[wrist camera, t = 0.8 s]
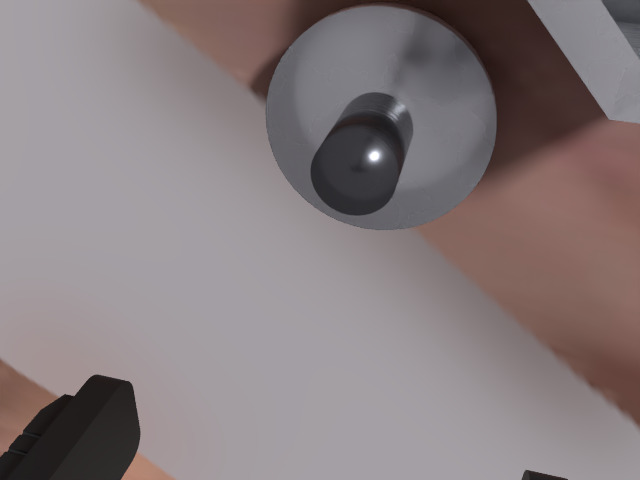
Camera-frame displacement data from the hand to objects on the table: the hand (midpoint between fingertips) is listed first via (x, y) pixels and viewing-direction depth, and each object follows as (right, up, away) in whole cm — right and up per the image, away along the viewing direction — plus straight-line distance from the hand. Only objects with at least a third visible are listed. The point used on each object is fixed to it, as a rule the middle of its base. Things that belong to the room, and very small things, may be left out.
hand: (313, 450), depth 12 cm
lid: (+3, +10, +16) cm, 19 cm away
